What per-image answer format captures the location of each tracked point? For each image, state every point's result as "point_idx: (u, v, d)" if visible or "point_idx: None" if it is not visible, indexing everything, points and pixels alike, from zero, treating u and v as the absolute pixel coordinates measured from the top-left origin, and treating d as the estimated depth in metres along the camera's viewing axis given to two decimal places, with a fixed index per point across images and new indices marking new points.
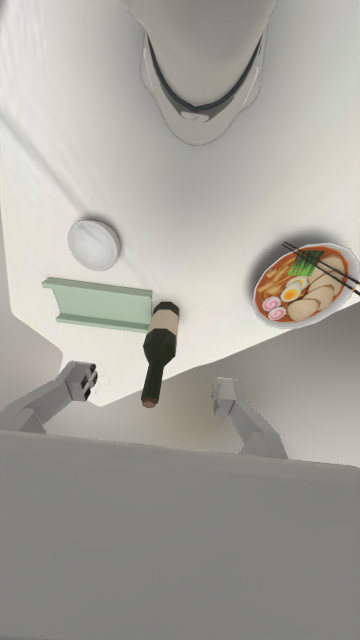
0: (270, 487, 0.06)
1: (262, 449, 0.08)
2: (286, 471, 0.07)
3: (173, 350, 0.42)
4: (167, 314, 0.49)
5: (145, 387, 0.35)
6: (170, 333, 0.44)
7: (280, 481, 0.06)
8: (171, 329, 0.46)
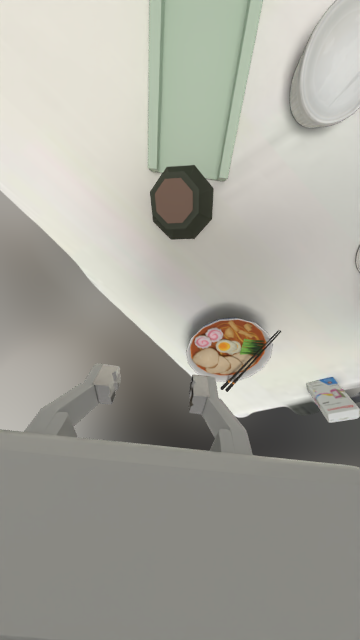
0: (270, 487, 0.06)
1: (227, 445, 0.08)
2: (286, 471, 0.07)
3: (189, 237, 0.24)
4: None
5: None
6: None
7: (280, 481, 0.06)
8: None
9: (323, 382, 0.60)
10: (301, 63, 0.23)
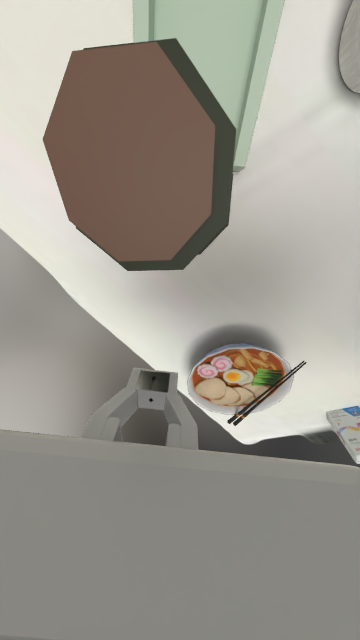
0: (270, 487, 0.06)
1: (174, 440, 0.08)
2: (286, 471, 0.07)
3: None
4: None
5: None
6: None
7: (280, 481, 0.06)
8: None
9: (347, 412, 0.52)
10: None
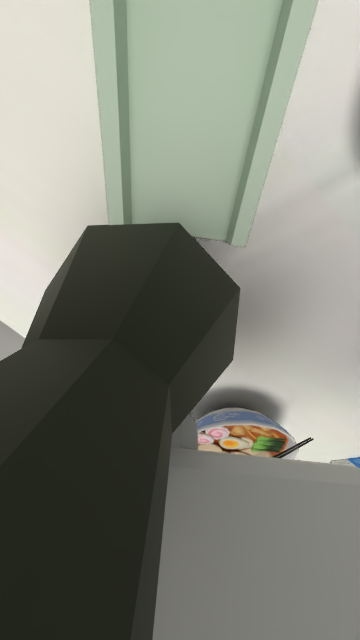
0: (270, 487, 0.06)
1: (174, 440, 0.08)
2: (286, 471, 0.07)
3: None
4: None
5: None
6: None
7: (280, 481, 0.06)
8: None
9: (353, 464, 0.48)
10: None
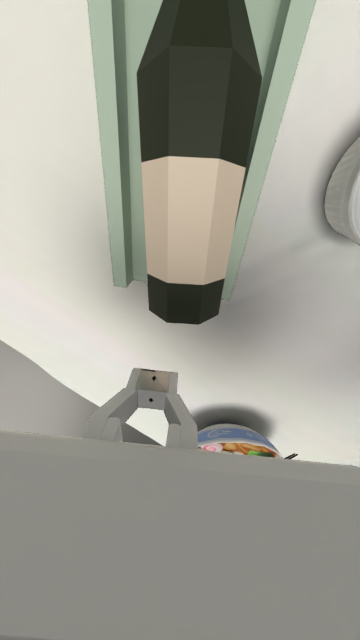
0: (270, 487, 0.06)
1: (174, 440, 0.08)
2: (286, 471, 0.07)
3: (254, 61, 0.10)
4: None
5: None
6: None
7: (280, 481, 0.06)
8: None
9: None
10: (355, 173, 0.14)
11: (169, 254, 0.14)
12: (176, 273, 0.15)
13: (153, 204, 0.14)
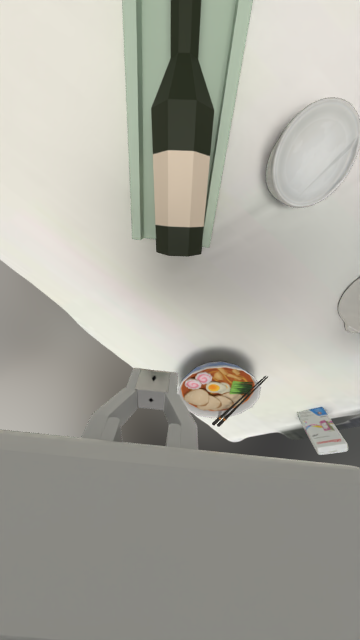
0: (270, 487, 0.06)
1: (174, 440, 0.08)
2: (286, 471, 0.07)
3: (209, 102, 0.21)
4: None
5: None
6: None
7: (280, 481, 0.06)
8: None
9: (313, 412, 0.62)
10: (273, 159, 0.25)
11: (169, 207, 0.25)
12: (173, 219, 0.26)
13: (159, 178, 0.24)
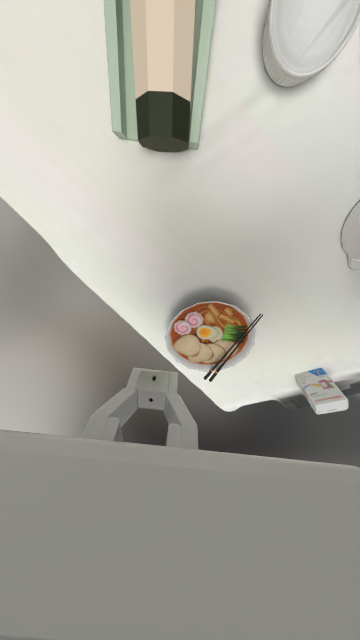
0: (270, 487, 0.06)
1: (174, 440, 0.08)
2: (286, 471, 0.07)
3: None
4: None
5: None
6: None
7: (280, 481, 0.06)
8: None
9: (312, 373, 0.58)
10: (270, 3, 0.21)
11: (148, 60, 0.21)
12: (153, 80, 0.22)
13: (137, 21, 0.21)
